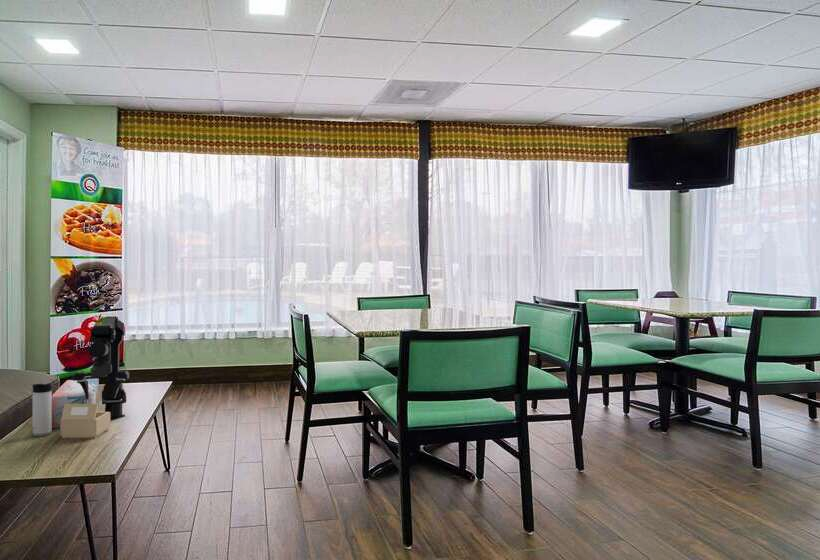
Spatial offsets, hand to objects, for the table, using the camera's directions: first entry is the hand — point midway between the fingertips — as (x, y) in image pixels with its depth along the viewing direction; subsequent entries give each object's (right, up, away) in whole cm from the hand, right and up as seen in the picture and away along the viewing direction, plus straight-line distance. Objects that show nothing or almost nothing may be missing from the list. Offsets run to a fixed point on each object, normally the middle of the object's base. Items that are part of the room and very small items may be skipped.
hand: (100, 398), depth 227 cm
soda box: (-26, -14, +30) cm, 43 cm away
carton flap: (-7, -4, -2) cm, 8 cm away
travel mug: (-23, -14, +1) cm, 27 cm away
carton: (-7, -14, +3) cm, 16 cm away
